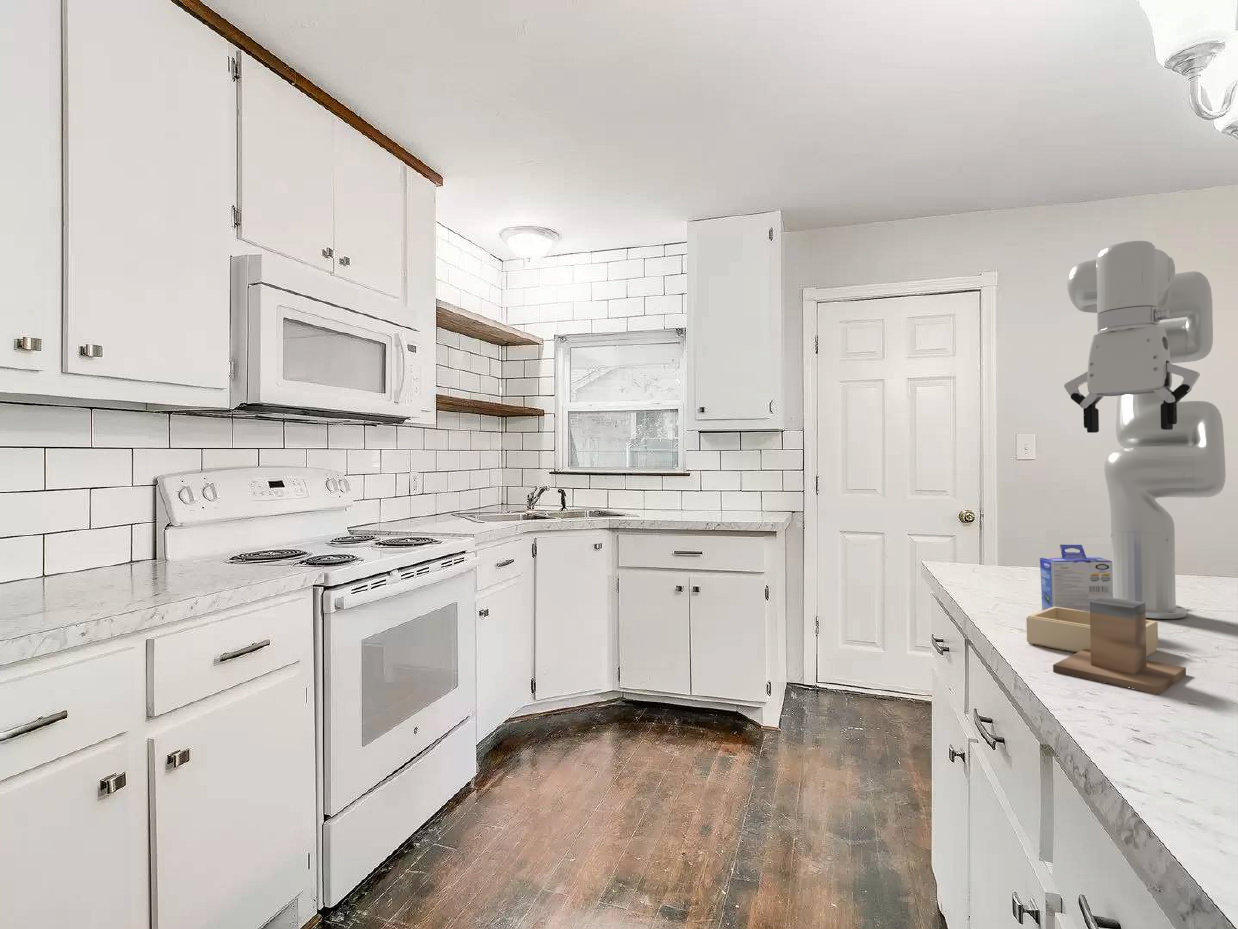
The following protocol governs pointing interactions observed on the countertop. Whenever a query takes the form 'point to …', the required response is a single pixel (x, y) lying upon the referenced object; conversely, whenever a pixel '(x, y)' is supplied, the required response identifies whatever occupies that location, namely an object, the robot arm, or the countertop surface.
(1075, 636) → the wooden box
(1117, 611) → the block
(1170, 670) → the board
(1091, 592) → the ink cartridge box
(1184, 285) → the robot arm
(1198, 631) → the countertop surface
